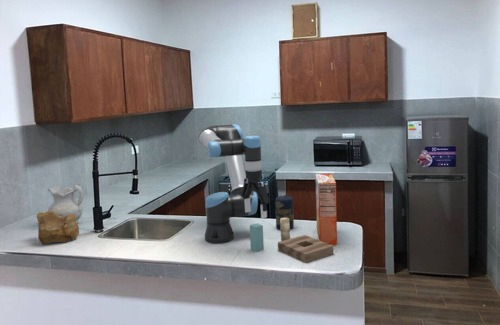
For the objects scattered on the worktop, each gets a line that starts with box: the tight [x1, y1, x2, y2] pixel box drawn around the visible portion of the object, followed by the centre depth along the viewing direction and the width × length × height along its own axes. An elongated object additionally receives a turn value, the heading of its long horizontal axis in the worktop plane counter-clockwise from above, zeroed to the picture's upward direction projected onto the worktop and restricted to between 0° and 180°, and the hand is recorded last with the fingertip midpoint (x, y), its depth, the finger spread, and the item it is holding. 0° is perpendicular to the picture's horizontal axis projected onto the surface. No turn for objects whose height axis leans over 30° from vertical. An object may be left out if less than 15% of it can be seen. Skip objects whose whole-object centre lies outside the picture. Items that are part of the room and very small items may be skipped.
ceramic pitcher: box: [47, 184, 84, 225], centre depth 269 cm, size 22×20×25 cm
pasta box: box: [315, 173, 338, 246], centre depth 225 cm, size 23×8×30 cm, turn 175°
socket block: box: [277, 234, 334, 264], centre depth 207 cm, size 20×16×4 cm
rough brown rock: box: [36, 210, 80, 245], centre depth 240 cm, size 23×17×15 cm
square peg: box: [249, 222, 265, 253], centre depth 213 cm, size 4×4×12 cm
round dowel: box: [280, 218, 291, 241], centre depth 220 cm, size 4×4×12 cm
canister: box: [274, 194, 295, 230], centre depth 243 cm, size 10×10×18 cm
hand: (255, 214), depth 211 cm, fingers open, 13 cm apart
